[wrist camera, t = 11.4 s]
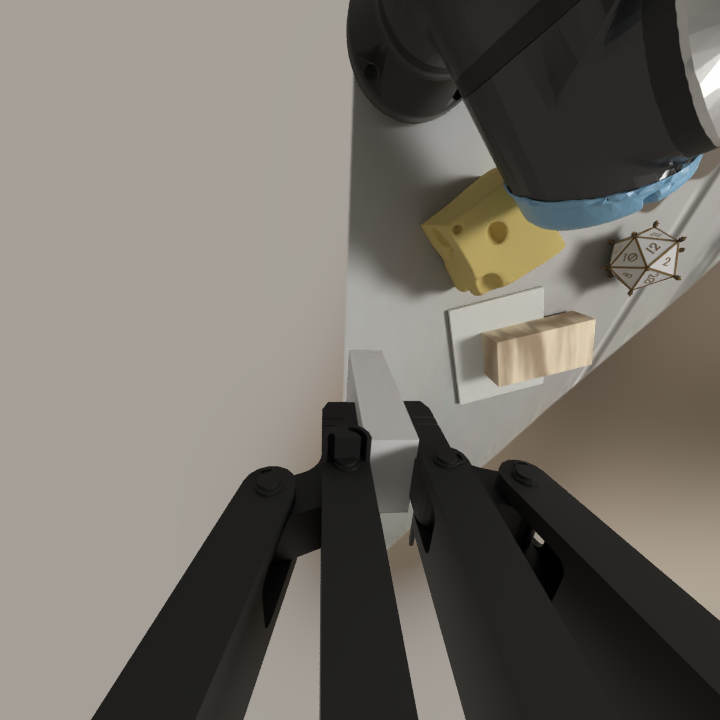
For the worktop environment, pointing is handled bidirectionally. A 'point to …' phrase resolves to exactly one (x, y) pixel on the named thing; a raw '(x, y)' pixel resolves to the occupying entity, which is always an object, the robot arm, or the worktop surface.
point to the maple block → (538, 348)
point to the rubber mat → (469, 342)
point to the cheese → (488, 237)
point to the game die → (644, 258)
